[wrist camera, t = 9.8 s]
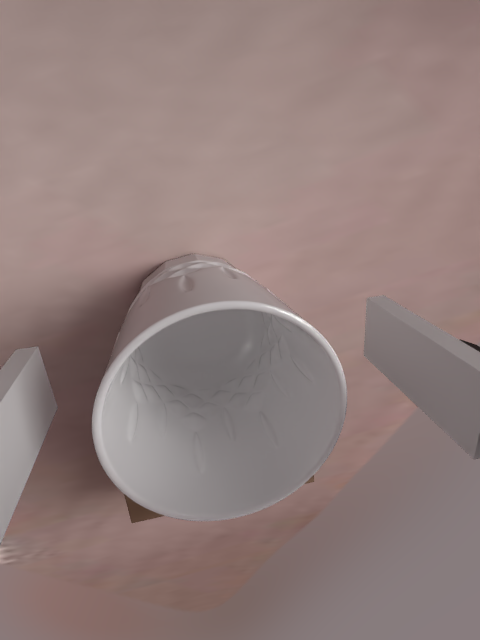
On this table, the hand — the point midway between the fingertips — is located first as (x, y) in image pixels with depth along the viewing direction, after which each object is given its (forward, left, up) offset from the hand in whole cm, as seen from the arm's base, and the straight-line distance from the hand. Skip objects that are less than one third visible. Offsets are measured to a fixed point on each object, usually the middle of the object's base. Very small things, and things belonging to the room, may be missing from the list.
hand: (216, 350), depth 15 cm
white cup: (0, 0, -6) cm, 6 cm away
